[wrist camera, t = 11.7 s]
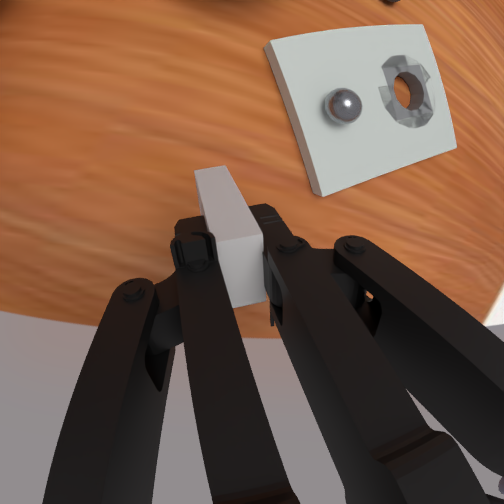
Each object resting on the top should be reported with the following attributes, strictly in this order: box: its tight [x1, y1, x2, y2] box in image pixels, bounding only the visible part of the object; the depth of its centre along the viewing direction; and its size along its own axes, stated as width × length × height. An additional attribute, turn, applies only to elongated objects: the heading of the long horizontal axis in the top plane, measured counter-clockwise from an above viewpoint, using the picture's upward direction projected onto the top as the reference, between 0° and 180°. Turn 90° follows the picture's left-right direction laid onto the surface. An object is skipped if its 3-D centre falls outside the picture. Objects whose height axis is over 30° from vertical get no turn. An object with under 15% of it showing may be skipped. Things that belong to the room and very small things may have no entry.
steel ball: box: [325, 88, 362, 124], centre depth 26 cm, size 4×4×4 cm
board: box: [264, 24, 457, 197], centre depth 29 cm, size 20×16×2 cm
